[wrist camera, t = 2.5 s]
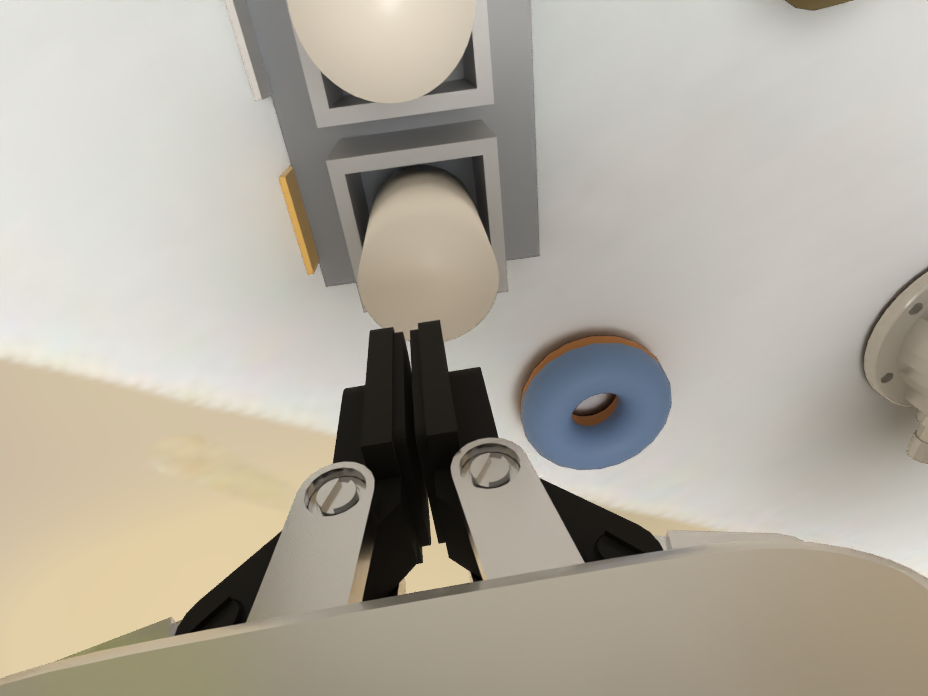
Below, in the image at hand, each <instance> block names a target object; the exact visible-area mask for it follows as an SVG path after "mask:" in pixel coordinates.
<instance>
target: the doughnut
mask: <svg viewBox="0 0 928 696" xmlns="http://www.w3.org/2000/svg"><path fill="white" fill-rule="evenodd" d="M601 393H612V394H615V395H616V397H615V399H614V400H613V402H612V404H610V405H609V406H608V407H607V408H606V409H605V410H603V411H601V412H599V413H598V414H594V415H591V416H577V415H574V414H572V413H573V411H574V410H575V408H576V407H577V406H578V405H579V404H580V403H581V402H582V401H583V400H585V399H587V398H589V397H591V396H593V395H597V394H601ZM670 408H671V388H670V382H669V380H668V378H667V376H666V374H665V372H664V370H663V368H662V367H661V365H660V363H659V361H658V359H657V357H655V356H654V355H653V354H651V353H650V352H649V351H648V350H646V349H645V348H644V347H642V346H641V345H640V344H638V343H637V342H634V341H630V340H627V339H624V338H620V337H617V336H589V337H586V338H582V339H579V340H575V341H572V342H568V343H567V344H565V345H563V346H562V347H560V348H558V349H557V350H555V351H553V352H551V353H550V354H548V355H547V356H546V357H545V358H544V359H543V360H542V361H541V362H540V363H539V364H538V366H537V367H536V368H535V369H534V370H533V371H532V373H531V375H530V377H529V379H528V381H527V383H526V385H525V387H524V389H523V391H522V399H521V407H520V413H521V421H522V424H523V428H524V432H525V435H526V437H527V439H528V441H529V442H530V443H531V445H532V446H533V447H534V448H535V449H536V451H537V452H538V453H539V454H540V455H541V456H543V457H544V458H546V459H548V460H550V461H551V462H553V463H555V464H557V465H558V466H562V467H567V468H571V469H576V470H590V469H602V468H606V467H610V466H613V465H617V464H620V463H622V462H624V461H626V460H628V459H630V458H632V457H634V456H636V455H637V454H639V453H640V452H641V451H642V450H643V449H645V448H646V447H647V446H648V445H649V444H651V443H652V442H653V441H654V439H655V438H656V437H657V435H658V434H659V432H660V431H661V430H662V428H663V427H664V425H665V424H666V421H667V418H668V415H669V411H670Z"/></svg>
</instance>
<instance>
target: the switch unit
mask: <svg viewBox="0 0 928 696" xmlns="http://www.w3.org/2000/svg"><path fill="white" fill-rule="evenodd" d="M225 4H226V7H227V10H228V14H229V17H230V20H231V23H232V27H233V30H234V33H235V37H236V40H237V43H238V46H239V50H240V53H241V56H242V60H243V63H244V66H245V69H246V73H247V76H248V79H249V83H250V86H251V89H252V92H253V96H254V99H255V100H262V99H264V98H267V97H269V96H272V100H273V103H274V107H275V110H276V114H277V117H278V121H279V124H280V128H281V131H282V135H283V138H284V142H285V145H286V148H287V152H288V155H289V159H290V162H291V165H290V166H289V167H288V168H287V169H286V170H285V171H284V172H283V174H282V175H281V176H280V177H279V181H280V185H281V188H282V191H283V194H284V198H285V201H286V204H287V208H288V211H289V214H290V218H291V221H292V224H293V227H294V231H295V234H296V237H297V241H298V244H299V247H300V250H301V254H302V257H303V260H304V264H305V267H306V270H307V273H308V275H310V274H314V272H315V270H316V267H317V264H318V262H319V264H320V267H321V271H322V274H323V278H324V281H325V284H326V287H328V286H335V285H342V284H349V283H356V284H357V288H358V292H359V287H358V270H359V264H360V260H361V255H362V250H363V245H364V240H365V236H366V231H367V226H368V221H369V217H370V212H371V207H372V203H373V200H374V197H375V195H376V193H377V191H378V189H379V188H380V186H381V185H382V184H383V183H384V181H386V180H387V179H388V178H389V177H390V176H391V175H393V174H394V173H396V172H398V171H400V170H402V169H404V168H407V167H411V166H417V165H428V166H434V167H438V168H441V169H444V170H446V171H448V172H450V173H451V174H453V175H454V176H456V177H457V178H458V179H459V180H460V181H461V182H462V183H463V184H464V186H465V187H466V188H467V190H468V191H469V193H470V195H471V197H472V200H473V202H474V205H475V207H476V210H477V212H478V215H479V217H480V220H481V222H482V225H483V227H484V230H485V232H486V235H487V237H488V240H489V242H490V245H491V247H492V250H493V252H494V255H495V258H496V261H497V264H498V271H499V285H498V291H497V293H501V292H508V284H507V270H506V261H508V260H515V259H522V258H529V257H536V256H540V254H539V226H538V197H537V169H536V140H535V112H534V83H533V55H532V26H531V0H476V5H475V17H474V23H473V28H472V32H471V35H470V39H469V42H468V45H467V47H466V49H465V51H464V54H463V56H462V57H461V59H460V61H459V63H458V64H457V66H456V67H455V69H454V70H453V71H452V72H451V74H450V75H449V76H448V77H447V78H446V79H445V80H444V81H443V82H442V83H441V84H440V85H439V86H437V87H436V88H435V89H433V90H432V91H430V92H429V93H427V94H425V95H423V96H421V97H419V98H416V99H413V100H410V101H406V102H401V103H377V102H372V101H368V100H364V99H362V98H359V97H356V96H354V95H352V94H350V93H348V92H346V91H344V90H343V89H341V88H340V87H339V86H337V85H336V84H334V83H333V82H332V81H331V80H330V79H329V78H327V77H326V76H325V75H324V74H323V73H322V72H321V71H320V69H319V68H318V67H317V66H316V65H315V64H314V62H313V61H312V60H311V58H310V57H309V55H308V54H307V52H306V51H305V49H304V47H303V45H302V43H301V42H300V40H299V37H298V35H297V33H296V30H295V28H294V25H293V22H292V19H291V16H290V12H289V7H288V2H287V0H225ZM359 296H360V293H359ZM360 300H361V304H362V308H363V312H368V311H367V310H366V308H365V306H364V304H363V302H362V299H361V296H360Z"/></svg>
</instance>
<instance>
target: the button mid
mask: <svg viewBox="0 0 928 696" xmlns="http://www.w3.org/2000/svg"><path fill="white" fill-rule="evenodd" d="M287 2H288V7H289V12H290V16H291V19H292V22H293V25H294V28H295V30H296V33H297V35H298V37H299V40H300V42H301V43H302V45H303V47H304V49H305V51H306V52H307V54H308V55H309V57H310V58H311V60H312V61H313V62H314V64H315V65H316V66H317V67H318V68H319V69H320V71H321V72H322V73H323V74H324V75H325V76H326V77H327V78H329V79H330V80H331V81H332V82H333V83H334V84H336V85H337V86H339V87H340V88H341V89H343V90H344V91H346V92H348V93H350V94H352V95H354V96H356V97H359V98H362V99H364V100H368V101H372V102H377V103H401V102H406V101H410V100H413V99H416V98H419V97H421V96H423V95H425V94H427V93H429V92H430V91H432V90H433V89H435V88H436V87H437V86H439V85H440V84H441V83H442V82H443V81H444V80H445V79H446V78H447V77H448V76H449V75H450V74H451V72H452V71H453V70H454V69H455V67H456V66H457V64H458V63H459V61H460V59H461V57H462V56H463V54H464V51H465V49H466V47H467V45H468V42H469V39H470V35H471V32H472V28H473V23H474V17H475V5H476V0H287Z"/></svg>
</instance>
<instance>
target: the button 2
mask: <svg viewBox="0 0 928 696" xmlns="http://www.w3.org/2000/svg"><path fill="white" fill-rule="evenodd" d="M498 285H499V271H498V264H497V261H496V258H495V255H494V252H493V250H492V247H491V245H490V242H489V240H488V237H487V235H486V232H485V230H484V227H483V225H482V222H481V220H480V217H479V215H478V212H477V210H476V207H475V205H474V202H473V200H472V197H471V195H470V193H469V191H468V190H467V188H466V187H465V186H464V184H463V183H462V182H461V181H460V180H459V179H458V178H457V177H456V176H454V175H453V174H451V173H450V172H448V171H446V170H444V169H441V168H438V167H434V166H428V165H417V166H411V167H407V168H404V169H402V170H400V171H398V172H396V173H394V174H393V175H391V176H390V177H389V178H388V179H387V180H386V181H384V183H383V184H382V185H381V186H380V188H379V189H378V191H377V193H376V195H375V197H374V200H373V203H372V207H371V212H370V217H369V221H368V226H367V231H366V236H365V240H364V245H363V250H362V255H361V260H360V264H359V270H358V287H359V293H360V296H361V299H362V302H363V304H364V306H365V308H366V310H367V311H368V313H369V314H370V316H371V317H372V318H373V319H374V320H375V321H376V323H378V324H379V325H380V326H381V327H382V328H389V327H393V328H394V331H395V333H396V332H402V331H403V333H404V337H405V340H408V341H410V330H415V329H418V323H421V322H428V321H434V320H440V323H441V329H442V335H443V342H444V341H448V340H451V339H454V338H457V337H459V336H461V335H463V334H465V333H467V332H468V331H470V330H471V329H473V328H474V327H475V326H477V325H478V324H479V323H480V322H481V321H482V320H483V319H484V317H485V316H486V315H487V313H488V312H489V310H490V309H491V307H492V305H493V303H494V301H495V298H496V295H497V291H498Z"/></svg>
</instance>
